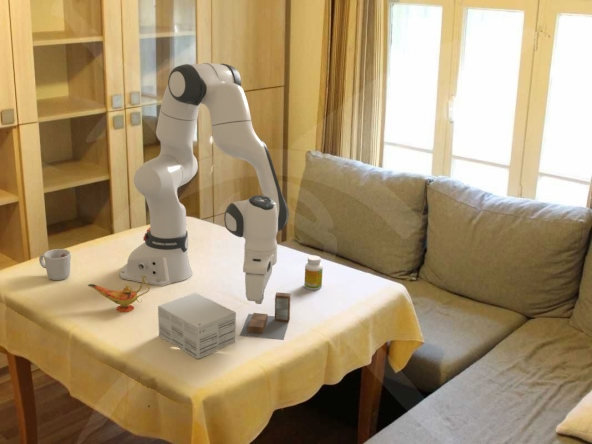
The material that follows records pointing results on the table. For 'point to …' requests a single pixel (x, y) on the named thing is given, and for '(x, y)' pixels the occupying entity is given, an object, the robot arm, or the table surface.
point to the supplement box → (197, 324)
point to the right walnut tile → (282, 307)
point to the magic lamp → (121, 296)
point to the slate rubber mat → (267, 329)
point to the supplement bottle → (313, 273)
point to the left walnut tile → (257, 323)
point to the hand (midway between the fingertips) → (259, 301)
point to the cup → (56, 263)
